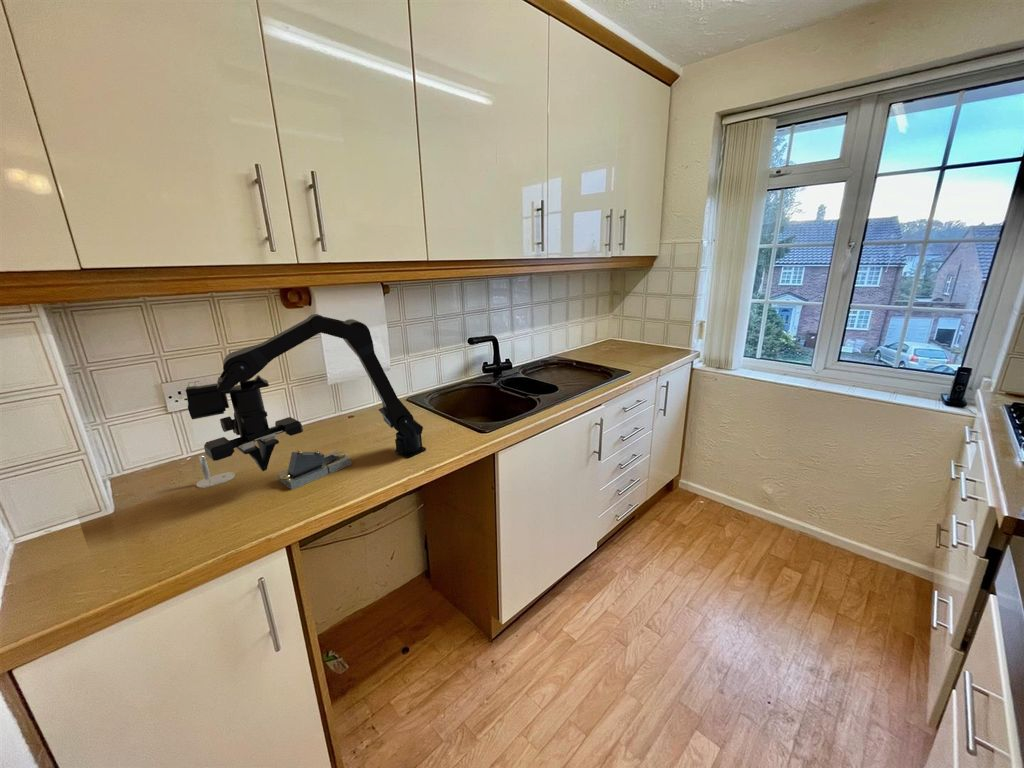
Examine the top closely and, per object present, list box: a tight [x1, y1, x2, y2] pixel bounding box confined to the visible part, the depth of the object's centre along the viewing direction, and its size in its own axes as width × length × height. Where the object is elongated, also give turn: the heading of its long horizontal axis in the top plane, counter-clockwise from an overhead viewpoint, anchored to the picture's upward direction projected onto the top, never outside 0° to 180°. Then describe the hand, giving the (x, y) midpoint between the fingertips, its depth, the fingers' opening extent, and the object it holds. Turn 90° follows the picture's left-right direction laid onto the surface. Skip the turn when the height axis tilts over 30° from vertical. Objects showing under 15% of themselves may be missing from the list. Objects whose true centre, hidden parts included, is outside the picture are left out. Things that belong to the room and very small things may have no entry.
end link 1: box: [277, 465, 329, 490], centre depth 104 cm, size 10×7×3 cm
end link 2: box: [322, 450, 352, 474], centre depth 110 cm, size 6×7×3 cm
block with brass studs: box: [287, 449, 325, 476], centre depth 104 cm, size 7×3×6 cm, turn 141°
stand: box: [196, 455, 236, 489], centre depth 103 cm, size 8×5×8 cm
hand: (264, 470), depth 97 cm, fingers closed
